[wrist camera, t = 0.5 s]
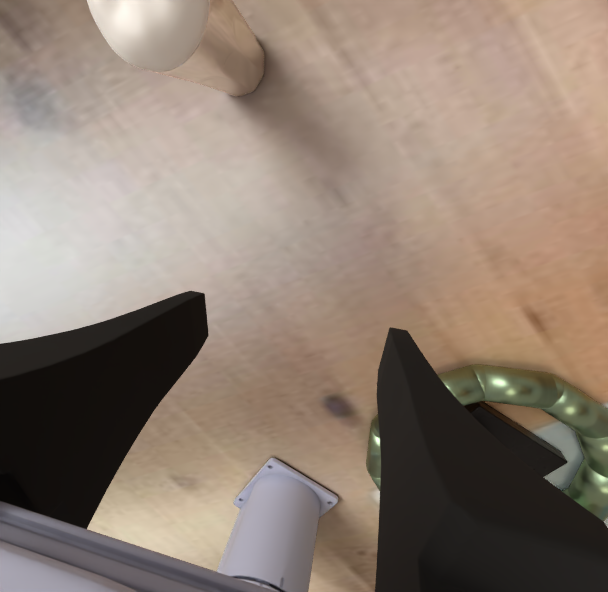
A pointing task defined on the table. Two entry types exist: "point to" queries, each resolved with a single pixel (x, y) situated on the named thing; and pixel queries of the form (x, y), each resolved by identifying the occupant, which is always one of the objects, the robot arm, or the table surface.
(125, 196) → the table surface
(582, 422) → the hoop
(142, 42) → the milkshake
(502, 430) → the stand
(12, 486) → the robot arm
